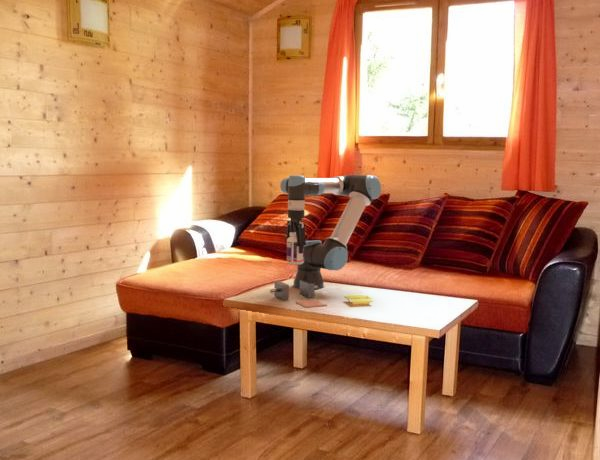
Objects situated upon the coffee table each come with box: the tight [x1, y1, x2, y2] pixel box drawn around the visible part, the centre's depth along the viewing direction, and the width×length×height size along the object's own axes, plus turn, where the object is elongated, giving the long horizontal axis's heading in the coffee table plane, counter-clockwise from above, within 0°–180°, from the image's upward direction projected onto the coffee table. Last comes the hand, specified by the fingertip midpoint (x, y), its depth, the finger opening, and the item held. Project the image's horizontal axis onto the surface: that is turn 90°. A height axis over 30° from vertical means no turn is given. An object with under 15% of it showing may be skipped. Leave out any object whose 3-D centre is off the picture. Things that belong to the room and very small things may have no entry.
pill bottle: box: [286, 232, 304, 266], centre depth 292 cm, size 8×8×14 cm
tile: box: [295, 299, 328, 309], centre depth 281 cm, size 10×10×1 cm
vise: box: [269, 280, 318, 302], centre depth 294 cm, size 24×9×7 cm, turn 117°
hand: (295, 258), depth 292 cm, fingers closed on pill bottle, 8 cm apart
